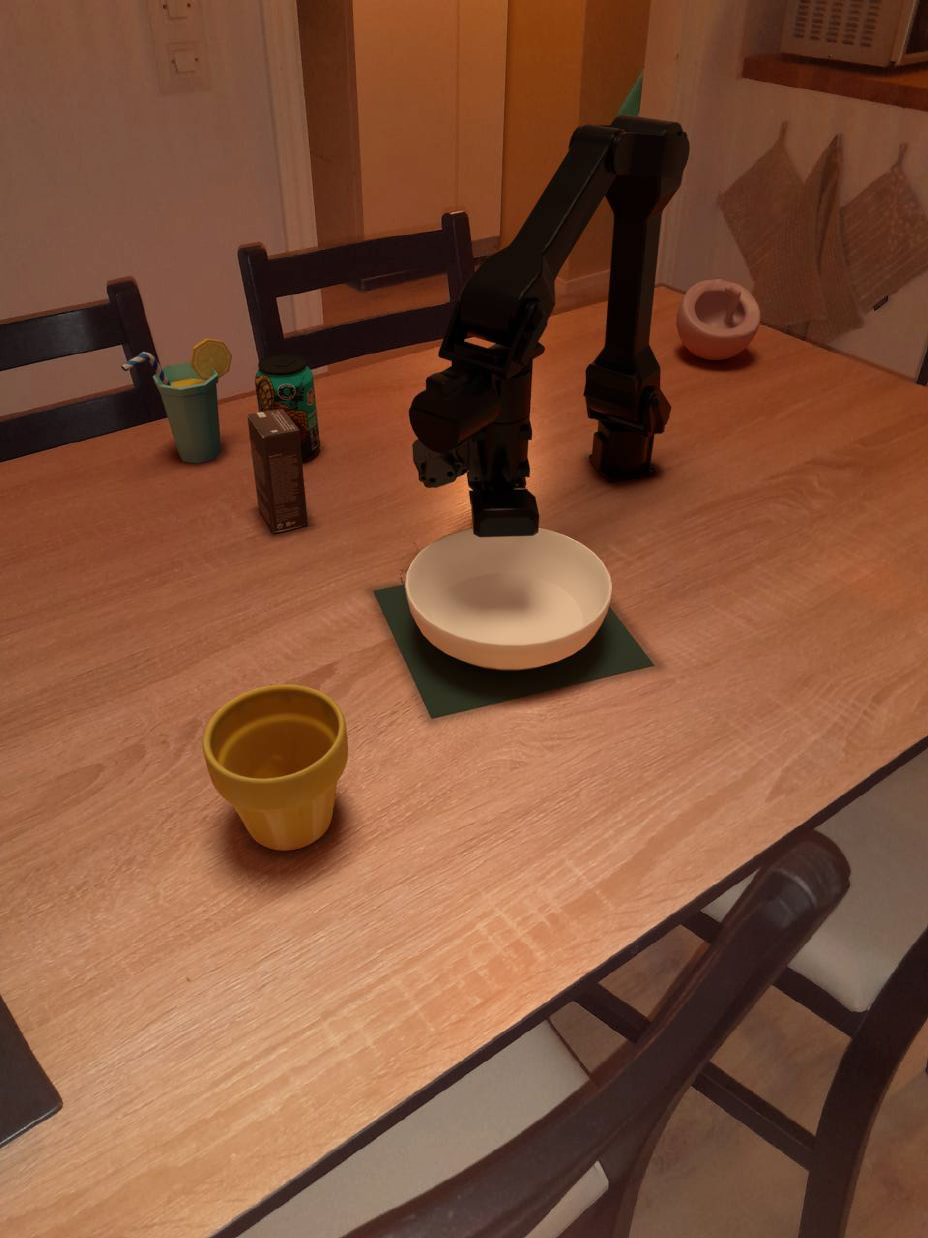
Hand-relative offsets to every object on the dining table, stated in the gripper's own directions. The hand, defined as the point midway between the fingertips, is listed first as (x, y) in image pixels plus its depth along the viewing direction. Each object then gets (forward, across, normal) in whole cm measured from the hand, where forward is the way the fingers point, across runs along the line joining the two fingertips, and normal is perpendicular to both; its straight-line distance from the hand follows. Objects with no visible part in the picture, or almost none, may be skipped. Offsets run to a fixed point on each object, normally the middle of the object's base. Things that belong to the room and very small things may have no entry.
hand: (495, 542), depth 103 cm
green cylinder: (+3, -26, -24) cm, 35 cm away
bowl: (+2, +12, 0) cm, 12 cm away
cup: (+4, -25, -36) cm, 44 cm away
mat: (+2, +11, 0) cm, 11 cm away
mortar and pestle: (+4, -52, +37) cm, 64 cm away
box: (+3, -10, -24) cm, 26 cm away
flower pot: (+2, +34, -19) cm, 39 cm away
